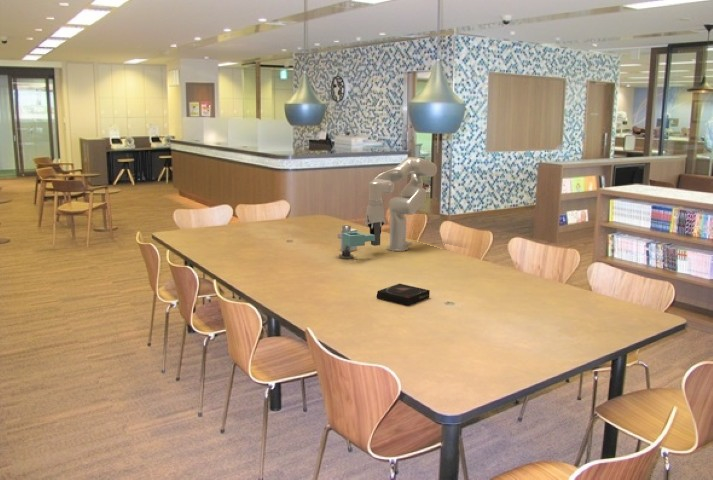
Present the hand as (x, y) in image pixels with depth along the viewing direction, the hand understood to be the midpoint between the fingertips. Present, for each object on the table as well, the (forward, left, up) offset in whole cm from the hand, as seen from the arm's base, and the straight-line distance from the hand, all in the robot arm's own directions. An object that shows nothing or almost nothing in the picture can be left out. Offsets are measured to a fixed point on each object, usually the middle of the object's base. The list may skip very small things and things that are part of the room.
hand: (375, 234), depth 360 cm
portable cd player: (+32, +82, -13) cm, 89 cm away
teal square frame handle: (+15, +9, -3) cm, 17 cm away
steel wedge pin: (0, 0, -6) cm, 6 cm away
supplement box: (+9, -17, -12) cm, 23 cm away
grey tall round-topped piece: (+19, 0, -12) cm, 22 cm away
